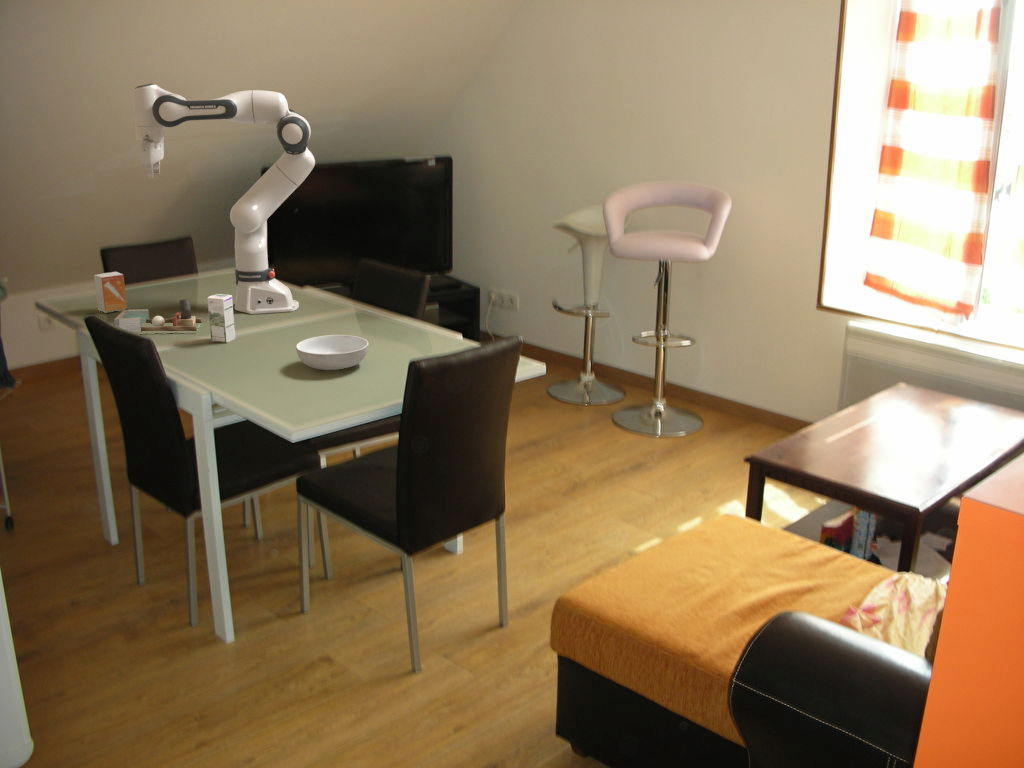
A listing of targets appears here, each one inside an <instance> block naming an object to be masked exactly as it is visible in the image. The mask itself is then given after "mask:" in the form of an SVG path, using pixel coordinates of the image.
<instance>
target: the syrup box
mask: <svg viewBox="0 0 1024 768" xmlns="http://www.w3.org/2000/svg"><path fill="white" fill-rule="evenodd" d="M206 298H207V299H206V300H207V308H208V309H207V310H208V319H209V330H210V341H211V342H215V343H226V344H228V343H229V342H231V341H233V340H235V339H236V330H235V329H236V328H235V317H234V306H233V305H234V304H233V295H232V294H224V293H223V294H222V293H221V294H220V293H214V294H211V295H210V296H208V297H206Z"/></svg>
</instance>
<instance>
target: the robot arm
mask: <svg viewBox="0 0 1024 768" xmlns="http://www.w3.org/2000/svg"><path fill="white" fill-rule="evenodd" d="M132 111H133V115H134V119H135V122H134V130H135V137H136V138H135V139H136V141H140V142H139V145H138V147H139V148H138V149H139V162H140V165H141V166H145V167H144V168H145V170H146V173H147V179H154V178H155V176H158V175H160V174H161V169H160V168H161V161H162V160H164V157H165V144H164V143H165V142H164V140H165V137H166V136H165V135H166V133H165V131H164V127H165V128H175V127H177V126H179V125H181V124H183V123H185V122H189V121H211V120H215V121H216V120H218V121H225V122H230V123H235V124H236V123H237V124H242V125H244V124H245V125H261V124H266V125H271V126H273V127H274V128H276V135H277V139H278V141H279V142H280V144H281V146H282V148H283V150H284V152H283V153H282V155H281V156H280V157H279V158H278V159H277V160H276V161H275V162H274V163H273V164H272V165H271V166H270V167H269V168H268V169H267V170H266V172H265V173H263V174H262V176H261V177H260V178H259V179H258V180H256V181H255V183H254V184H253V185H252V186H251V187H250V188H249V189H248V190H247V191H246V192H245V193H244V194H243V195H242V196H241V197H240V198H239V199H238V200H237V202H235V204H234V205H233V206H231V207H232V208H231V209H230V213H229V219H230V222H231V225H232V226H233V227H234V258H235V270H234V280H235V281H234V282H235V284H236V297H235V304H234V306H233V310H235V311H238V312H242V313H246V314H250V315H257V314H271V313H273V314H274V313H286V312H294V311H296V310H298V309H299V307H300V303H299V301H298V300H296V299H293V294H292V292H291V290H290V287H288V286H287V285H285V284H284V283H282V282H281V281H280V280H278V279H276V272H275V269H274V268H271V267H269V260H268V257H269V255H268V222H267V221H268V219H269V217H271V216H272V215H273V214H274V213H275V211H276V210H277V209H278V208H279V207H281V205H282V204H283V203H284V202H285V201H286V200H287V199H288V198H289V196H291V194H293V193H294V192H295V190H296V189H298V188H299V187H300V186H301V184H302V183H303V182H304V181H305V180H306V178H308V176H309V175H310V174H311V172H312V171H313V169H314V167H315V165H316V159H315V156H314V155H313V153H312V151H311V150H309V148H308V142H309V140H310V137H311V132H312V128H311V124H310V122H309V120H308V119H307V118H306V117H304V115H302V114H300V113H298V112H296V111H294V110H292V109H289V104H288V100H287V99H286V97H285V95H284V94H282V92H278V91H272V90H262V89H261V90H260V89H253V90H252V89H249V90H242V91H241V90H240V91H239V90H238V91H236V92H231V93H228V94H226V95H224V96H221V97H218V98H213V99H199V100H198V99H196V100H188V99H187V98H185V97H184V96H182V95H180V94H177V93H174V92H170V91H168V90H165V89H163V88H162V87H160V86H159V85H157V84H156V83H148V84H143V85H142V84H141V85H138V86H136V87H135V88H134V89H133V91H132ZM154 175H155V176H154Z"/></svg>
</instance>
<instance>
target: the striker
mask: <svg viewBox="0 0 1024 768" xmlns="http://www.w3.org/2000/svg"><path fill="white" fill-rule="evenodd" d="M190 301H191V299H188V298H185V299H184V298H183V299H179V311H180V312H175V314H174V315H173V317H172V318H171V319H172V322H173V326H196V318H197V317H196V315H192V312H191V302H190Z"/></svg>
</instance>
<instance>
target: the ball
mask: <svg viewBox="0 0 1024 768" xmlns="http://www.w3.org/2000/svg"><path fill="white" fill-rule="evenodd" d="M151 319H152V324H153V326H154V327H160V326H164V324H165V320H164V319H165V318H164V317H163V316H161V315H156V316H154V317H153V318H151Z"/></svg>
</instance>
